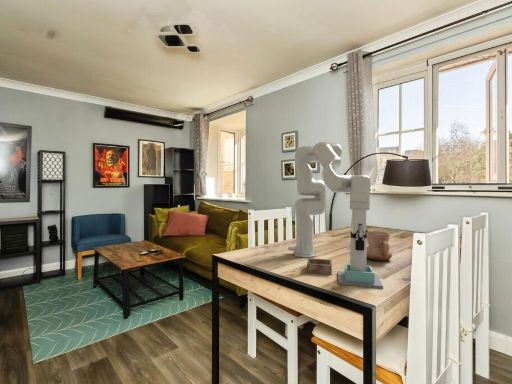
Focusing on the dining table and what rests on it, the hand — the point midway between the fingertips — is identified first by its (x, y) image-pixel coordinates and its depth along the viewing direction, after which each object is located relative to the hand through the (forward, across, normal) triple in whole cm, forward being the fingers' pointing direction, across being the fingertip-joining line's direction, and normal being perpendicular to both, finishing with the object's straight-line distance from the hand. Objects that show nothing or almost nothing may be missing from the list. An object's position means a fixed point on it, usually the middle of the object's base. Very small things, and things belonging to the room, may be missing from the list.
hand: (358, 247), depth 112 cm
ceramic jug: (+14, -36, +13) cm, 41 cm away
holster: (+14, -8, -16) cm, 23 cm away
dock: (+14, +1, 0) cm, 14 cm away
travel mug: (+13, 0, 0) cm, 13 cm away
